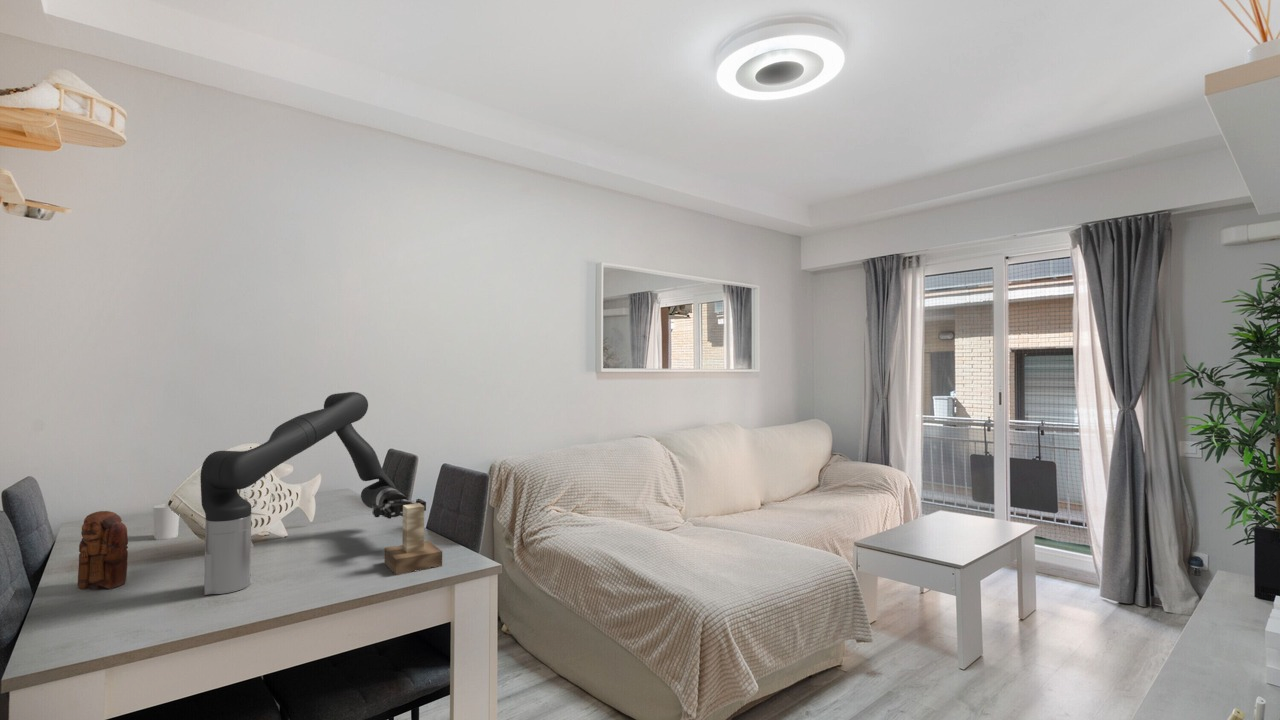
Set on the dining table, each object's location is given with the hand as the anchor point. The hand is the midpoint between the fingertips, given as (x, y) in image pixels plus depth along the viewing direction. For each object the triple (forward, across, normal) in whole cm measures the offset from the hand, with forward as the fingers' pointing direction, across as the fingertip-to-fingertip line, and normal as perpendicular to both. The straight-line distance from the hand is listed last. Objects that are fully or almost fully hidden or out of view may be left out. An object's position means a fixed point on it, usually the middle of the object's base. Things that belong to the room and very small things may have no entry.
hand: (405, 512), depth 169 cm
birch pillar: (+8, 0, +8) cm, 11 cm away
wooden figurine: (-20, -67, +13) cm, 71 cm away
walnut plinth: (+8, 0, +12) cm, 15 cm away
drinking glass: (-64, -56, +13) cm, 85 cm away
